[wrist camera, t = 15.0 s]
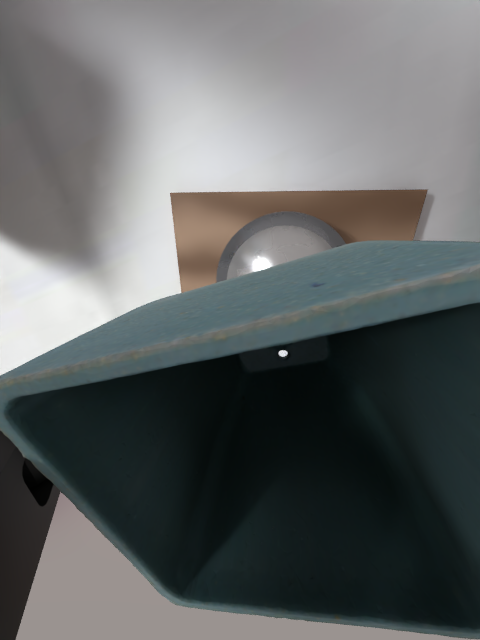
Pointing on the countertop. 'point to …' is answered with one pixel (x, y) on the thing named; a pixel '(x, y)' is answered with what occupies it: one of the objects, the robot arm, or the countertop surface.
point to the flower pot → (282, 437)
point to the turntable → (275, 243)
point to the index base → (243, 207)
